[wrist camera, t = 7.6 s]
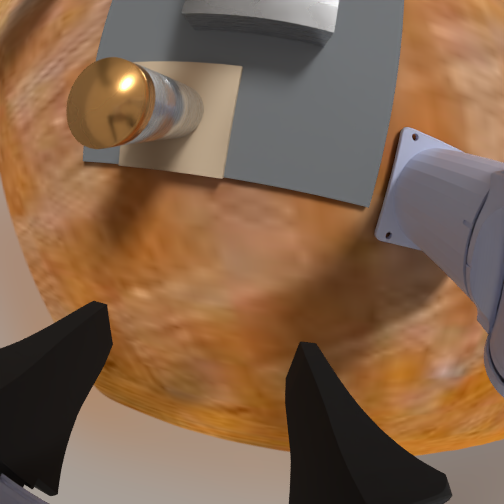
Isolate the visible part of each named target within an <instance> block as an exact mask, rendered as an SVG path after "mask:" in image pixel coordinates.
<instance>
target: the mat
mask: <svg viewBox="0 0 504 504" xmlns="http://www.w3.org/2000/svg"><path fill="white" fill-rule="evenodd" d="M184 2H185V0H112V3H111V6H110V10H109V13H108V16H107V19H106V23H105V26H104V30H103V33H102V37H101V41H100V45H99V49H98V53H97V58H96V61H98V60H100V59H103V58H108V57H118V58H122V59H125V60H127V61H130V62H149V61H177V62H201V63H215V64H226V65H235V66H242V67H243V71H242V76H241V81H240V86H239V91H238V97H237V102H236V107H235V113H234V118H233V124H232V130H231V135H230V141H229V147H228V153H227V159H226V166H225V172H224V177H225V178H231V179H237V180H243V181H248V182H254V183H260V184H265V185H270V186H275V187H280V188H285V189H290V190H295V191H300V192H305V193H309V194H314V195H318V196H323V197H327V198H332V199H336V200H340V201H344V202H348V203H353V204H357V205H361V206H364V207H368V208H369V205H370V202H371V198H372V195H373V191H374V187H375V183H376V179H377V175H378V171H379V167H380V163H381V159H382V155H383V150H384V146H385V141H386V136H387V131H388V126H389V121H390V116H391V111H392V105H393V99H394V93H395V87H396V80H397V73H398V65H399V57H400V48H401V38H402V26H403V10H404V0H339V4H338V10H337V17H336V24H335V30H334V33H333V35H332V36H331V38H330V39H329V41H328V42H327V44H326V45H325V46H324V47H320V46H316V45H311V44H307V43H303V42H298V41H293V40H288V39H282V38H277V37H271V36H264V35H257V34H249V33H240V32H229V31H215V30H194V28H193V27H192V26H191V25H190V23H189V22H188V21H187V20H186V18H185V17H184V16H183V15H182V14H181V13H182V9H183V6H184ZM119 154H120V146H116V147H110V148H105V149H92V148H88V147H86V146H84V151H83V161H87V162H101V163H113V164H119Z"/></svg>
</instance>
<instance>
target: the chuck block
mask: <svg viewBox="0 0 504 504" xmlns="http://www.w3.org/2000/svg"><path fill="white" fill-rule="evenodd" d="M338 4H339V0H185V2H184V6H183V9H182V13H181V14H182V15H183V16H184V17H185V18H186V20H187V21H188V22H189V23H190V25H191V26H192V27H193V28H194V30H215V31H229V32H240V33H249V34H257V35H264V36H271V37H277V38H282V39H288V40H293V41H298V42H303V43H307V44H311V45H316V46H320V47H324V46H325V45H326V44H327V42H328V41H329V39H330V38H331V36H332V35H333V33H334V30H335V24H336V17H337V10H338Z"/></svg>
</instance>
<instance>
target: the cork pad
mask: <svg viewBox="0 0 504 504" xmlns="http://www.w3.org/2000/svg"><path fill="white" fill-rule="evenodd" d="M133 63H135V64H138V65H141V66H143V67H146V68H148V69H151V70H153V71H155V72H158V73H160V74H163V75H165V76H167V77H169V78H172V79H174V80H176V81H178V82H181V83H183V84H185V85H187V86H189V87H191V88H193V89H194V90H196V91H197V92H198V94H199V95H200V97H201V99H202V101H203V107H204V112H203V117H202V120H201V122H200V124H199V125H198V127H197V128H196V129H195V130H194V131H193V132H192V133H190V134H188V135H187V136H184V137H181V138H174V139H165V140H157V141H149V142H141V143H135V144H128V145H122V146H120V154H119V166H128V167H138V168H147V169H155V170H164V171H171V172H179V173H186V174H194V175H200V176H207V177H214V178H220V179H222V178H223V177H224V172H225V166H226V159H227V153H228V147H229V141H230V135H231V130H232V124H233V118H234V113H235V107H236V102H237V97H238V91H239V86H240V81H241V76H242V71H243V67H242V66H235V65H226V64H215V63H201V62H177V61H149V62H133Z"/></svg>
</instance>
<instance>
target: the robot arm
mask: <svg viewBox="0 0 504 504" xmlns="http://www.w3.org/2000/svg"><path fill="white" fill-rule="evenodd" d="M413 134H415V135H416V139H415V140H413V139H412V135H413ZM388 232H390V235H389V237H386V234H387V233H388ZM375 237H376V238H377V239H378V240H380V241H383V242H388V243H392V244H396V245H400V246H404V247H409V248H413V249H417V250H421V251H423V252H424V253H425V254H426V255H427V256H428V257H429V258H430V259H431V260H433V261H434V262H435V263H436V264H437V265H438V266H439V267H440V268H441V269H442V270H443V271H444V272H445V273H446V274H447V275H448V276H449V277H450V278H451V279H452V280H453V281H454V282H455V283H456V284H457V285H458V286H459V288H460V289H461V290H462V291H463V292H464V293H465V294H466V295H467V296H468V297H469V298H470V299H471V300H472V301H473V302H474V304H475V305H476V307H477V310H478V315H477V321H478V322H479V323H480V324H481V326H482V327H483V328H484V329H485V331H486V332H487V333H488V337H487V340H486V344H485V348H484V364H485V368H486V372H487V375H488V377H489V379H490V381H491V383H492V384H493V386H494V387H495V389H496V390H497V391H498V392H499V393H500V394H501V395H502V396H503V397H504V163H503V162H499V161H495V160H492V159H488V158H484V157H480V156H476V155H472V154H467V153H464V152H462V151H460V150H458V149H456V148H454V147H452V146H450V145H448V144H446V143H444V142H442V141H440V140H438V139H436V138H433V137H431V136H429V135H427V134H424V133H422V132H420V131H417V130H415V129H412V128H410V127H404V128H403V129H402V130H401V132H400V137H399V142H398V147H397V151H396V155H395V160H394V164H393V168H392V172H391V176H390V180H389V184H388V188H387V191H386V195H385V199H384V202H383V206H382V209H381V213H380V216H379V219H378V223H377V226H376V229H375ZM112 345H113V342H112V336H111V330H110V323H109V316H108V308H107V304H103V303H100V302H96V301H92V302H90V303H88V304H87V305H85V306H83V307H81V308H80V309H78V310H76V311H74V312H73V313H71V314H69V315H68V316H66V317H64V318H62V319H61V320H59V321H57V322H55V323H54V324H52V325H50V326H48V327H47V328H45V329H43V330H41V331H39V332H37V333H35V334H33V335H31V336H29V337H27V338H25V339H23V340H21V341H19V342H16V343H14V344H11V345H9V346H6V347H3V348H0V504H49V503H47V502H45V501H43V500H42V499H40V498H38V497H37V496H35V495H33V494H32V493H30V492H28V491H27V490H25V489H24V488H23V486H24V484H25V485H26V486H28V487H29V488H31V489H33V488H34V487H35V488H37V489H39V490H40V491H42V492H44V493H46V494H47V495H49V496H54V495H57V494H58V487H59V480H60V474H61V468H62V464H63V459H64V455H65V451H66V447H67V444H68V441H69V437H70V434H71V431H72V428H73V426H74V423H75V420H76V417H77V415H78V413H79V411H80V408H81V406H82V404H83V403H84V401H85V399H86V397H87V395H88V394H89V392H90V390H91V388H92V386H93V385H94V383H95V381H96V379H97V377H98V376H99V374H100V372H101V370H102V369H103V367H104V365H105V362H106V360H107V358H108V355H109V353H110V350H111V348H112ZM285 404H286V415H287V424H288V434H289V443H290V453H291V474H290V475H291V476H290V494H289V504H444V503H445V502H447V501H448V500H449V499H450V498H451V497H452V493H451V490H450V486H449V483H448V480H447V477H446V475H445V474H444V473H442V472H440V471H438V470H436V469H434V468H433V467H431V466H429V465H427V464H426V463H424V462H422V461H421V460H419V459H417V458H416V457H415V456H413V455H412V454H410V453H409V452H408V451H406V450H405V449H404V448H402V447H401V446H400V445H398V444H397V443H396V442H395V441H394V440H393V439H391V438H390V437H389V436H388V435H387V434H386V433H385V432H383V431H382V430H381V429H380V428H379V427H378V426H377V425H376V424H375V423H374V422H373V421H372V420H371V418H370V417H369V416H368V415H367V414H366V413H365V412H364V411H363V410H362V409H361V407H360V406H359V405H358V404H357V402H356V401H355V400H354V399H353V397H352V396H351V395H350V393H349V392H348V391H347V389H346V388H345V387H344V385H343V384H342V382H341V381H340V379H339V378H338V377H337V375H336V374H335V372H334V371H333V369H332V367H331V366H330V364H329V363H328V361H327V360H326V358H325V357H324V355H323V353H322V352H321V350H320V349H319V347H318V346H317V344H316V343H308V342H300V343H299V345H298V348H297V351H296V353H295V356H294V359H293V361H292V364H291V366H290V369H289V372H288V374H287V377H286V389H285Z"/></svg>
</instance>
